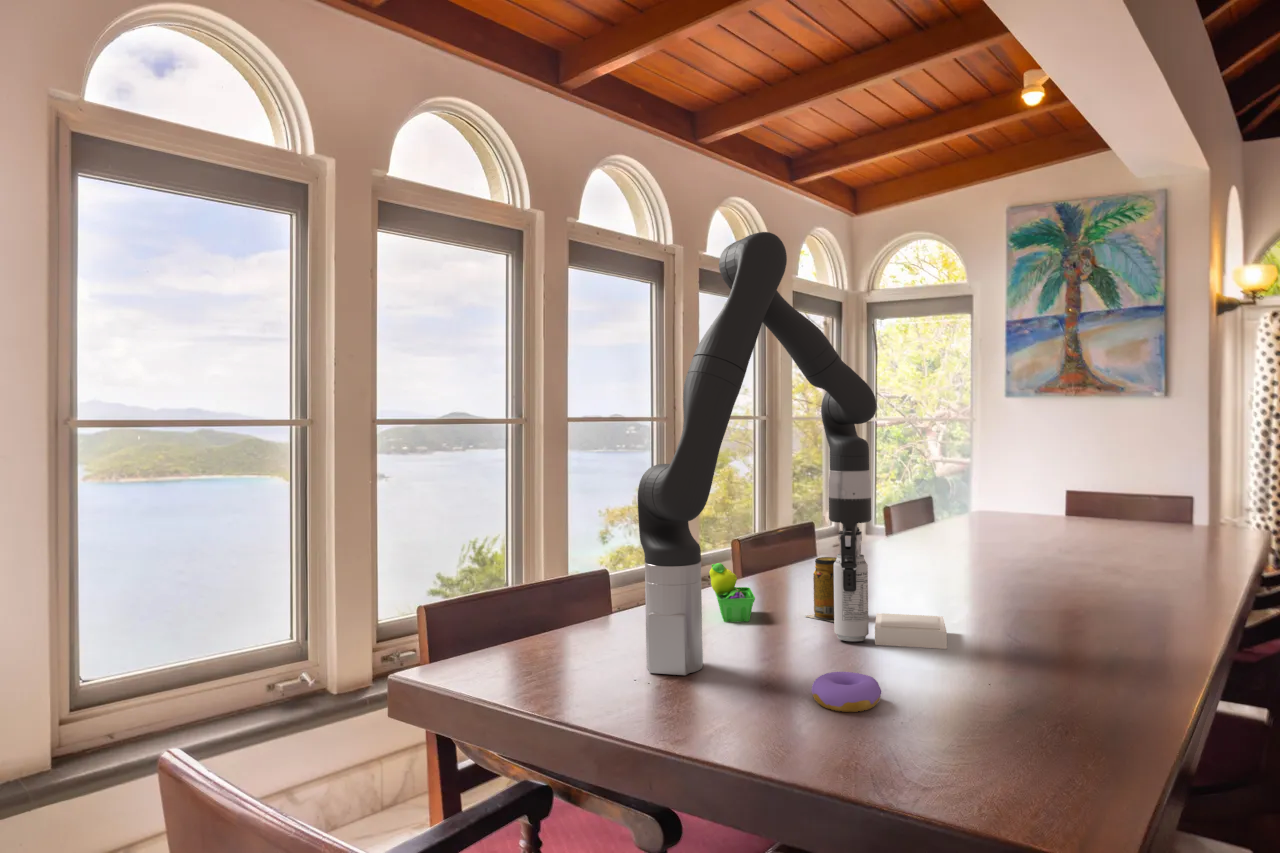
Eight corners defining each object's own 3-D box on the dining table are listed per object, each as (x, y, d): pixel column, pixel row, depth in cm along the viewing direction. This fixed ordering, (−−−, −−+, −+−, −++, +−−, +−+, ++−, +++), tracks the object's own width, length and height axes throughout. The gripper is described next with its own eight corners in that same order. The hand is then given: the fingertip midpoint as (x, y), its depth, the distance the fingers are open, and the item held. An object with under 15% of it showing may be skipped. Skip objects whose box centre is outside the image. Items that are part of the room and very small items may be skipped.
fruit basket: (756, 623, 166) (755, 566, 166) (712, 623, 166) (711, 567, 166) (750, 610, 177) (749, 558, 177) (708, 611, 178) (707, 558, 178)
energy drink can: (862, 633, 154) (861, 552, 154) (873, 641, 148) (871, 557, 148) (830, 634, 154) (829, 553, 154) (839, 642, 148) (838, 558, 148)
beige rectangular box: (946, 648, 144) (946, 630, 144) (875, 644, 148) (874, 626, 148) (943, 632, 156) (943, 615, 156) (876, 629, 159) (876, 612, 159)
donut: (829, 685, 124) (835, 655, 124) (888, 711, 118) (894, 679, 118) (796, 703, 117) (802, 671, 116) (857, 731, 111) (864, 697, 110)
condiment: (826, 611, 175) (825, 554, 175) (860, 618, 169) (859, 559, 169) (804, 617, 171) (803, 558, 171) (838, 624, 164) (836, 563, 164)
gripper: (869, 498, 143) (870, 596, 143) (872, 492, 157) (873, 581, 157) (825, 498, 145) (826, 594, 145) (831, 492, 159) (832, 580, 159)
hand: (850, 587), depth 151 cm, fingers closed on energy drink can, 6 cm apart
